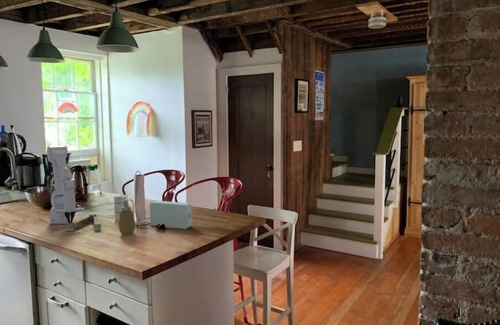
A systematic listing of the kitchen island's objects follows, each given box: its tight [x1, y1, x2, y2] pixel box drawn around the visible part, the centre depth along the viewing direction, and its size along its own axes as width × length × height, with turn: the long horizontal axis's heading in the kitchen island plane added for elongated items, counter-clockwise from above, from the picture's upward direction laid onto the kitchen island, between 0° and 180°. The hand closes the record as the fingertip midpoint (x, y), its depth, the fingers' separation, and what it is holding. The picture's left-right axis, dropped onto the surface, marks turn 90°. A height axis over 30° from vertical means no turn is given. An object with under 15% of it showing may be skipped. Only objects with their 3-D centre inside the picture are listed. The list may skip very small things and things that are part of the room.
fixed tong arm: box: [88, 213, 102, 232], centre depth 223 cm, size 22×6×4 cm, turn 23°
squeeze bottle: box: [118, 200, 136, 237], centre depth 206 cm, size 8×8×18 cm
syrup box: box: [113, 194, 129, 222], centre depth 236 cm, size 6×6×14 cm
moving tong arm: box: [66, 215, 90, 232], centre depth 221 cm, size 18×3×4 cm, turn 173°
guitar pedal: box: [149, 200, 193, 230], centre depth 222 cm, size 23×6×13 cm, turn 71°
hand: (70, 225), depth 218 cm, fingers closed
